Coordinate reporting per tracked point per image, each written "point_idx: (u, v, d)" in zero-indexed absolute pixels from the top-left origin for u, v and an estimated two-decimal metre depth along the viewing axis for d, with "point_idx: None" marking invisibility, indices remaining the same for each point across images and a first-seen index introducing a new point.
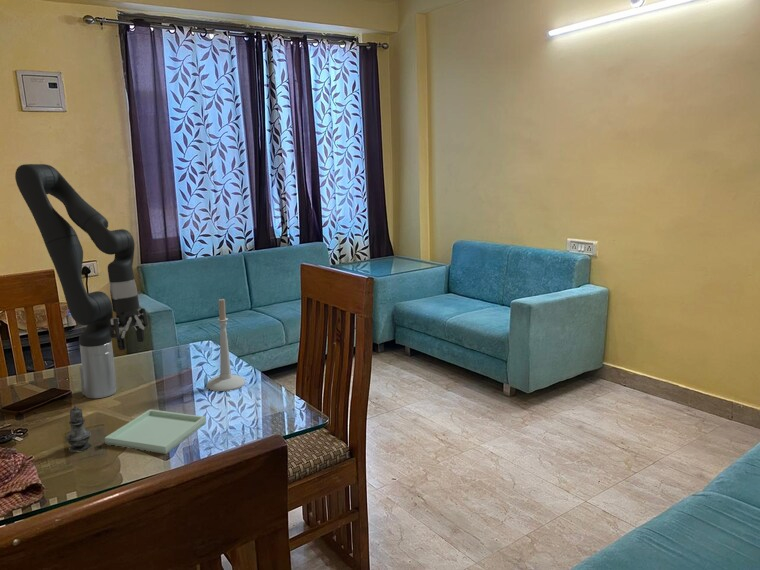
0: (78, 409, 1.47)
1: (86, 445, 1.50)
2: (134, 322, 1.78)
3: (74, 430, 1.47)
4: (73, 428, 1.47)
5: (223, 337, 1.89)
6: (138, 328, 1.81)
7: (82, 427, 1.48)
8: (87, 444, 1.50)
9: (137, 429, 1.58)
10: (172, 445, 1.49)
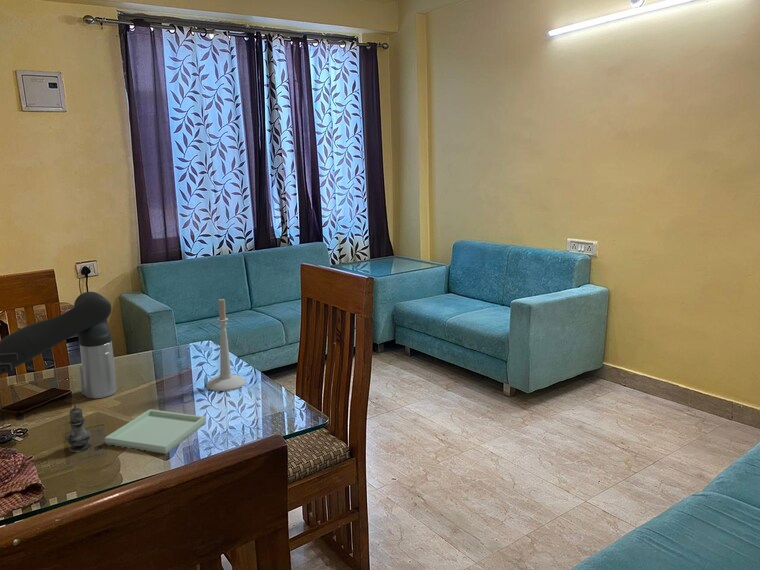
0: (78, 409, 1.47)
1: (86, 445, 1.50)
2: None
3: (75, 430, 1.47)
4: (73, 428, 1.47)
5: (223, 337, 1.89)
6: None
7: (82, 427, 1.48)
8: (87, 444, 1.50)
9: (137, 429, 1.58)
10: (172, 445, 1.49)
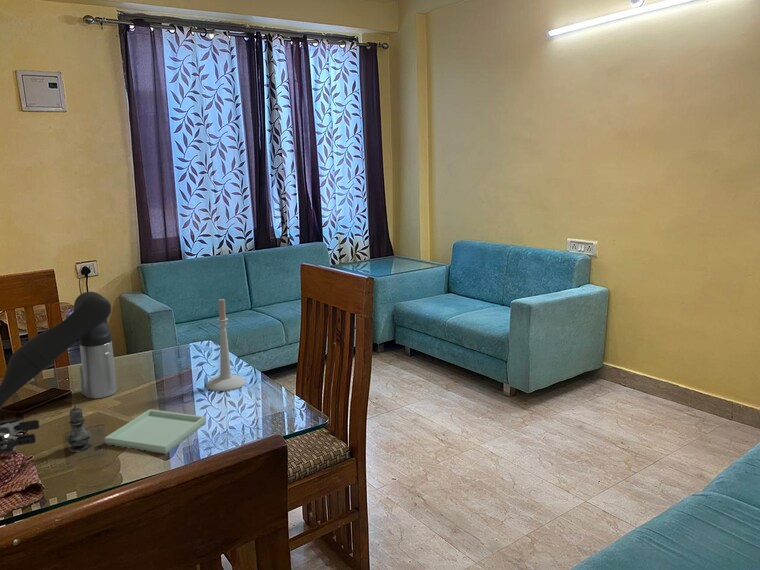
0: (78, 409, 1.47)
1: (86, 445, 1.50)
2: (4, 429, 1.42)
3: (75, 430, 1.47)
4: (73, 428, 1.47)
5: (223, 337, 1.89)
6: (19, 427, 1.46)
7: (82, 427, 1.48)
8: (87, 444, 1.50)
9: (137, 429, 1.58)
10: (172, 445, 1.49)
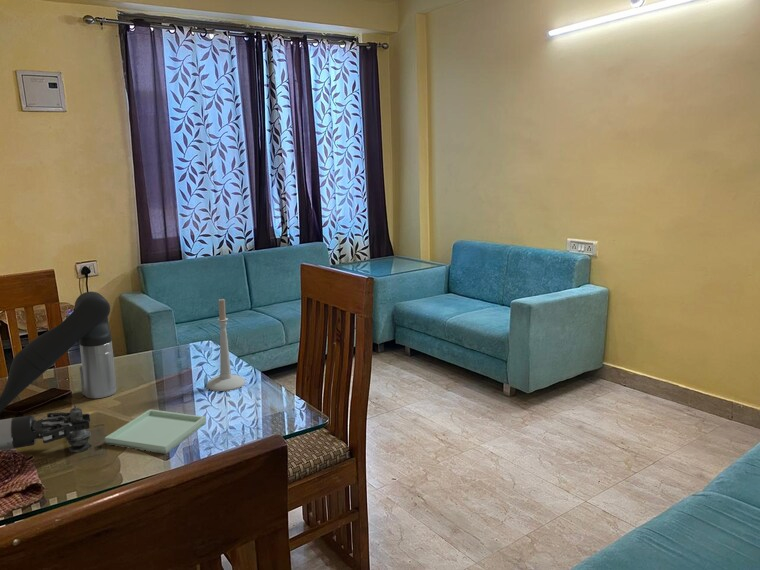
0: (78, 409, 1.47)
1: (86, 445, 1.50)
2: (52, 421, 1.46)
3: None
4: None
5: (223, 337, 1.89)
6: None
7: None
8: (87, 444, 1.50)
9: (137, 429, 1.58)
10: (172, 445, 1.49)
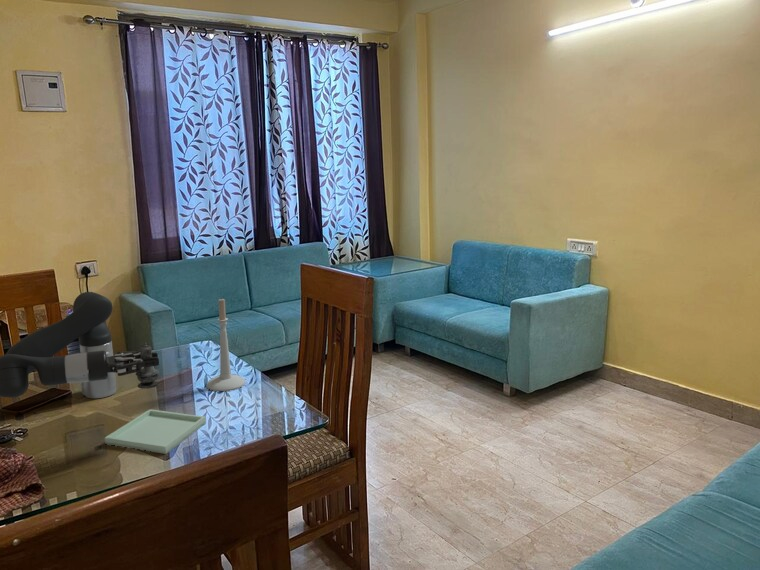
0: (148, 346, 1.51)
1: (154, 382, 1.54)
2: (124, 358, 1.50)
3: (144, 367, 1.51)
4: None
5: (223, 337, 1.89)
6: (139, 359, 1.53)
7: None
8: (155, 382, 1.54)
9: (137, 429, 1.58)
10: (172, 445, 1.49)
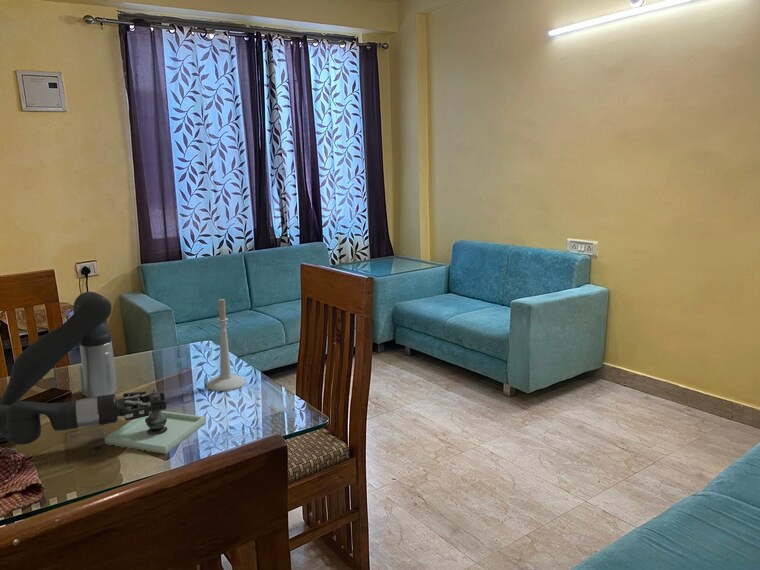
0: (157, 393, 1.55)
1: (163, 428, 1.57)
2: (133, 400, 1.54)
3: (154, 414, 1.55)
4: (152, 411, 1.55)
5: (223, 337, 1.89)
6: (146, 399, 1.57)
7: (160, 411, 1.56)
8: (164, 427, 1.58)
9: (137, 429, 1.58)
10: (172, 445, 1.49)
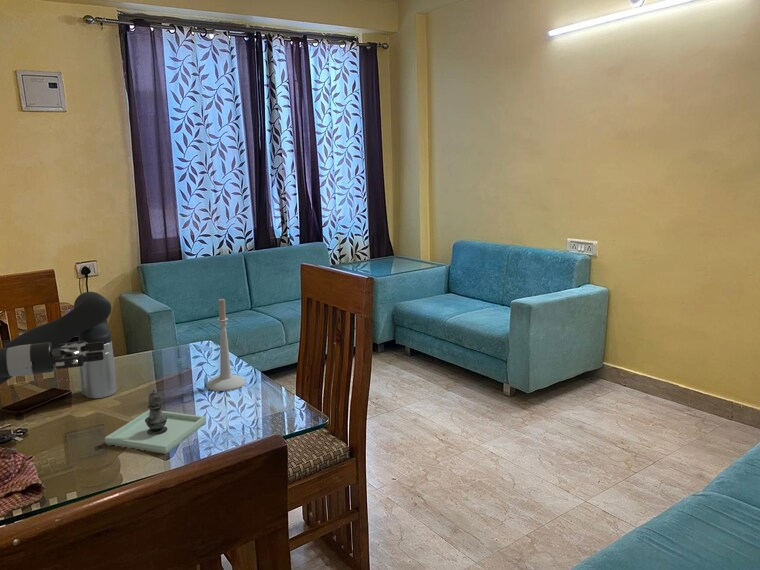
0: (157, 394, 1.55)
1: (163, 428, 1.57)
2: (72, 348, 1.45)
3: (153, 414, 1.55)
4: (152, 411, 1.55)
5: (223, 337, 1.89)
6: (85, 348, 1.49)
7: (160, 411, 1.56)
8: (164, 427, 1.58)
9: (137, 429, 1.58)
10: (172, 445, 1.49)
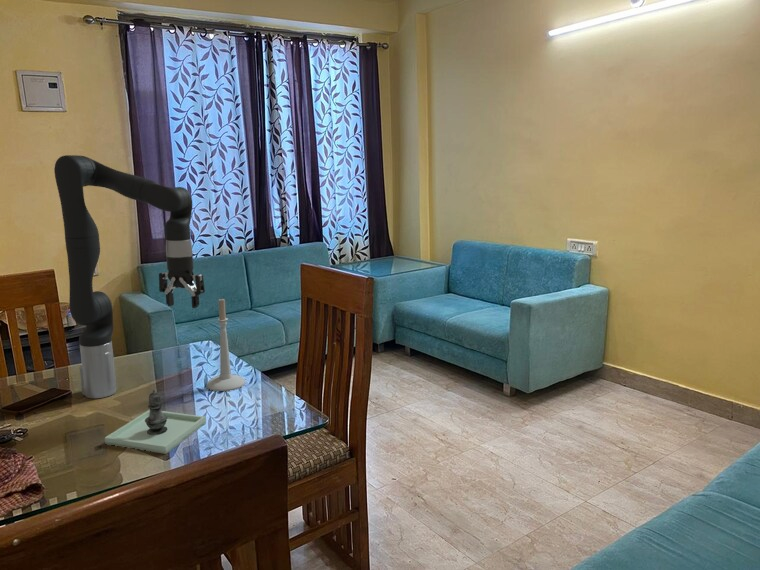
0: (157, 394, 1.55)
1: (163, 428, 1.57)
2: None
3: (153, 414, 1.55)
4: (152, 411, 1.55)
5: (223, 337, 1.89)
6: (170, 291, 1.75)
7: (160, 411, 1.56)
8: (164, 427, 1.58)
9: (137, 429, 1.58)
10: (172, 445, 1.49)
